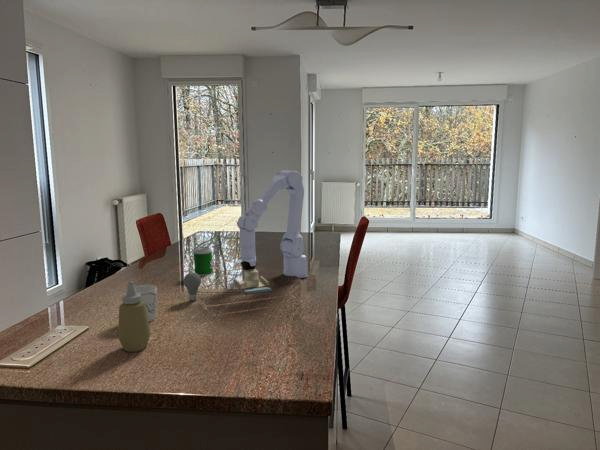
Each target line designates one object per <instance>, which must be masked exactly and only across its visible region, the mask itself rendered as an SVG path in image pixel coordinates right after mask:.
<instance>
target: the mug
mask: <svg viewBox="0 0 600 450" xmlns="http://www.w3.org/2000/svg"><path fill="white" fill-rule="evenodd" d="M134 286H135V289H136V292H137V293H140V294H141V299H142V300H141V301H143V302H144V303H146V309H147V315H148V320H149V323H150V322H153V321H154V320H155V319H156V313H157V303H158V287H157V286H156V285H153V284H140V285H139V284H138V285H134Z"/></svg>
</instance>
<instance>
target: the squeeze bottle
mask: <svg viewBox="0 0 600 450" xmlns="http://www.w3.org/2000/svg"><path fill="white" fill-rule="evenodd" d="M135 286H136V285H135V282H134V281H132V280H131V281H128V282H127V290H126V293H125V294H124V295H122V298H121V299H122V300H121V301H122V303H121V304H120V305H119V306H118V326H117V327H118V328H117V330H118V333H117V338H118V340H119V343H120V344H121V346H122V349H123V350H124V351H126V352H129V353H130V352H131V353H134V352H139V351H142V350H145V349H146V347H148V344H149V341H150V336H151V327H150V322H149V320H148V315H147V309H146V303H144V302H143V301H141V300H142V299H141V294H140V293H137V292H136V289H135Z"/></svg>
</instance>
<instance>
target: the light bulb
mask: <svg viewBox="0 0 600 450" xmlns="http://www.w3.org/2000/svg"><path fill="white" fill-rule="evenodd" d="M182 282H183V285H184V286H185V289H186V290H187V294H188V296H189V300H190V301H192V302H194V301H197V299H198V297H197V296H198V290H199V288H200V286H201V283H202V278H201V276H199V275H198V274H197V273H195V271H194V272H188V273H186V275H184V278H183V281H182Z"/></svg>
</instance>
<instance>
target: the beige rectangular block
mask: <svg viewBox="0 0 600 450" xmlns="http://www.w3.org/2000/svg"><path fill="white" fill-rule="evenodd" d="M259 273H260V271H259V270H257V269H256V268H255V269H251V270H243V277H244V278H243V279H244V280H243V281H244V284H245V285H246V286H247V287H252V288H255V287H254V286H259V279H260V275H259Z"/></svg>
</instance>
